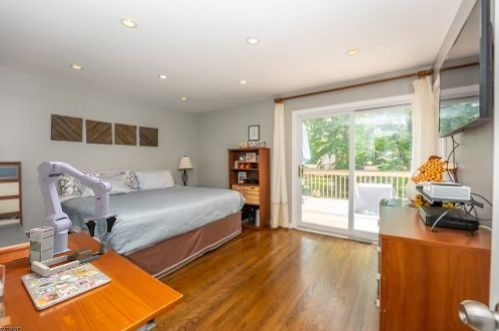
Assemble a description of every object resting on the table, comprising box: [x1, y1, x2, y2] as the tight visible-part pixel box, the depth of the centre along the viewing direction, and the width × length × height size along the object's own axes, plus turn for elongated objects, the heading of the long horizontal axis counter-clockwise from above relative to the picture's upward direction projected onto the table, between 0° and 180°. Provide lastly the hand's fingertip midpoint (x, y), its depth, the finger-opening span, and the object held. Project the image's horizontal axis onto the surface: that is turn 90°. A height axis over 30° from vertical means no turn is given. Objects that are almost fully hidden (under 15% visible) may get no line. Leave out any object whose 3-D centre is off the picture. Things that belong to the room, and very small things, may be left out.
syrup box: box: [29, 225, 54, 264], centre depth 98 cm, size 6×6×14 cm
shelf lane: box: [30, 254, 79, 278], centre depth 92 cm, size 12×12×3 cm
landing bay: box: [66, 253, 100, 266], centre depth 101 cm, size 12×8×2 cm, turn 62°
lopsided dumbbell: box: [72, 240, 109, 262], centre depth 104 cm, size 6×12×5 cm, turn 152°
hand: (100, 234), depth 109 cm, fingers open, 7 cm apart
